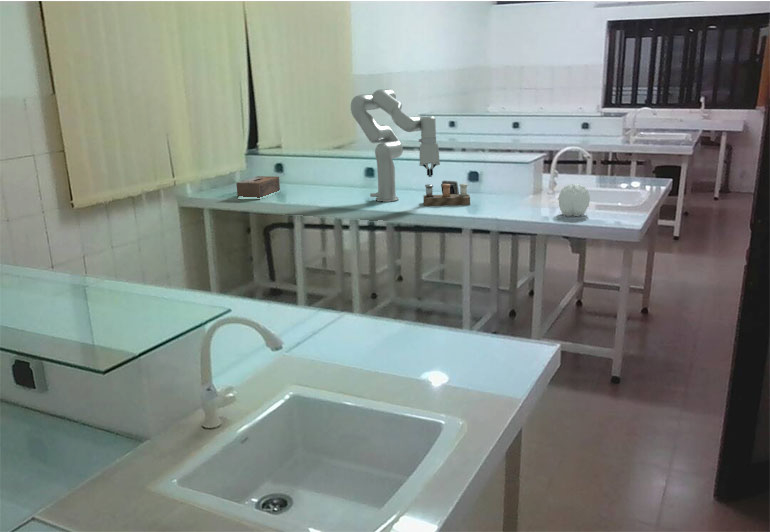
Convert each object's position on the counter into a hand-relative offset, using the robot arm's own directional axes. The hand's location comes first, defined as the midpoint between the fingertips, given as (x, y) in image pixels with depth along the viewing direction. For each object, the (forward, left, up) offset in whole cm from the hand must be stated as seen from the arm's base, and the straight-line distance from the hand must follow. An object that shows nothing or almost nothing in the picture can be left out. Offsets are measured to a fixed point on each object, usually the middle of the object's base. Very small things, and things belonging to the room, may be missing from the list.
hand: (430, 176), depth 341 cm
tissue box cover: (-101, +40, -15) cm, 109 cm away
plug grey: (-1, 0, -11) cm, 11 cm away
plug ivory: (+17, 0, -11) cm, 21 cm away
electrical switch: (+11, +20, -15) cm, 28 cm away
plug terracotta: (+8, 0, -11) cm, 14 cm away
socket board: (+8, 0, -15) cm, 17 cm away
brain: (+66, -35, -15) cm, 76 cm away
